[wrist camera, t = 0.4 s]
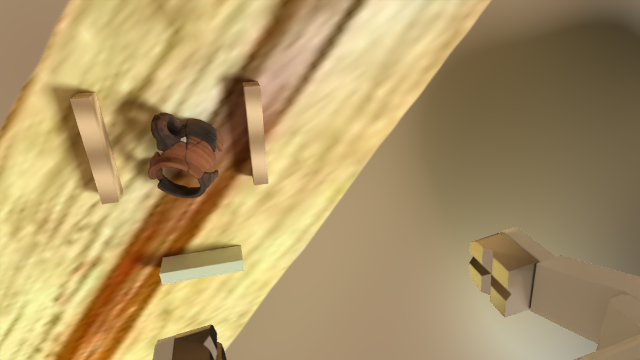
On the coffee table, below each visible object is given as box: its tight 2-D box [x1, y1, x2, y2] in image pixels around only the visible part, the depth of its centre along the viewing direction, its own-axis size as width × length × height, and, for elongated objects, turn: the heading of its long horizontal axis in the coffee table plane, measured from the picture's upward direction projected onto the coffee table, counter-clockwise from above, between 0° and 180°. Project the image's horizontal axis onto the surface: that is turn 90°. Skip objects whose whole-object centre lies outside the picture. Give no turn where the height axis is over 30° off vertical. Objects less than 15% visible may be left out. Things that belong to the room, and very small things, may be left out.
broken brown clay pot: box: [148, 113, 223, 198], centre depth 50 cm, size 12×10×8 cm
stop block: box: [160, 245, 244, 285], centre depth 59 cm, size 2×12×4 cm, turn 91°
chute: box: [70, 81, 268, 204], centre depth 51 cm, size 14×22×3 cm, turn 91°
